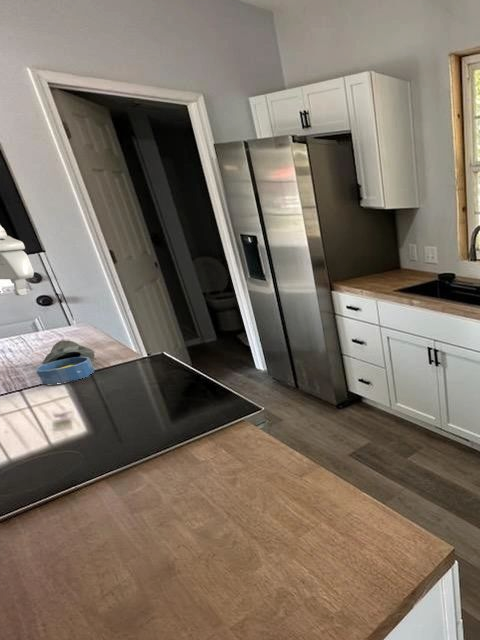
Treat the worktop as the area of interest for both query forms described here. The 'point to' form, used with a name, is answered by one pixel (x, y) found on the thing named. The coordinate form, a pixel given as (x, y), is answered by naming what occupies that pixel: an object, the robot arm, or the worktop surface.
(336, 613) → the worktop surface
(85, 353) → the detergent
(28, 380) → the worktop surface
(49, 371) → the bowl
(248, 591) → the worktop surface
